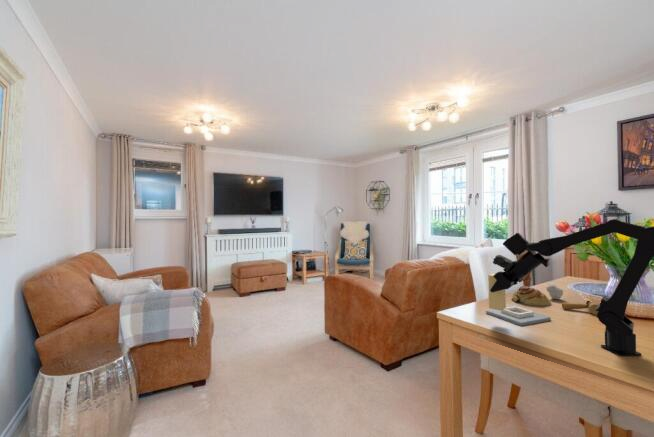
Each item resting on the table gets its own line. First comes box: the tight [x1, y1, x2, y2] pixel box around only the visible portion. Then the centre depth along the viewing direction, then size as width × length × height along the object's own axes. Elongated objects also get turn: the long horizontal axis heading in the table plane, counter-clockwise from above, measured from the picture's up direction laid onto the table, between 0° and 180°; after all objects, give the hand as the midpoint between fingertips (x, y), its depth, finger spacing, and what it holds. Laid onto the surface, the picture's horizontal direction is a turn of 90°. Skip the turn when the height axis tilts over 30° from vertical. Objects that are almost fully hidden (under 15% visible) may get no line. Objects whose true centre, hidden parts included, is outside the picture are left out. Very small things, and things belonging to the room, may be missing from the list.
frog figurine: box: [545, 284, 564, 300], centre depth 146 cm, size 6×7×7 cm
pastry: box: [511, 285, 552, 307], centre depth 142 cm, size 13×15×8 cm
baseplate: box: [485, 306, 552, 327], centre depth 122 cm, size 16×16×3 cm
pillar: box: [488, 273, 507, 311], centre depth 115 cm, size 4×4×13 cm
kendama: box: [561, 299, 600, 315], centre depth 126 cm, size 8×6×18 cm
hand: (493, 290), depth 116 cm, fingers closed on pillar, 4 cm apart
